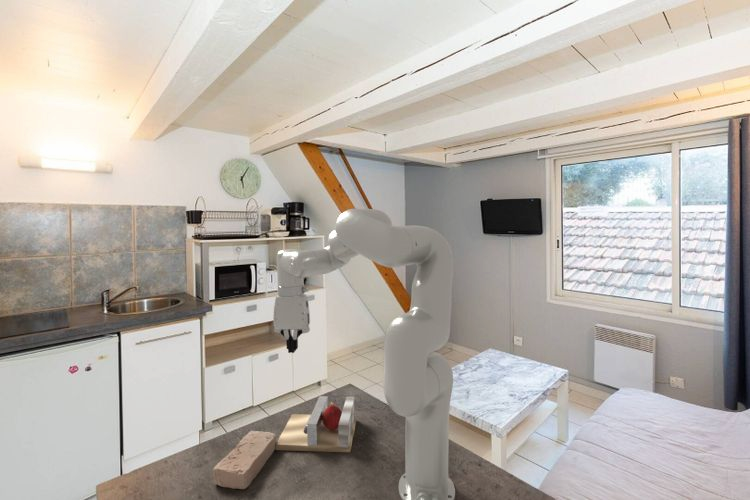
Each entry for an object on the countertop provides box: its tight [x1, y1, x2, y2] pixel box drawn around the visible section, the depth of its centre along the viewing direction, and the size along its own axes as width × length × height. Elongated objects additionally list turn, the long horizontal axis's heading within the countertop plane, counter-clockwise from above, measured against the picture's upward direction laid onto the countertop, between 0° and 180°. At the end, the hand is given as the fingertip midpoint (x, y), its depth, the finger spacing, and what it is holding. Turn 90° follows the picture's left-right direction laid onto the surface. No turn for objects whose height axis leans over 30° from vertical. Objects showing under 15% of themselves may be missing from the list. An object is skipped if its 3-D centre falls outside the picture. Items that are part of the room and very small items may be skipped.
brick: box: [212, 430, 277, 490], centre depth 88 cm, size 17×8×5 cm, turn 169°
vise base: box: [275, 396, 357, 453], centre depth 101 cm, size 15×20×8 cm
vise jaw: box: [304, 395, 329, 446], centre depth 101 cm, size 15×4×6 cm, turn 177°
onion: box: [322, 402, 342, 431], centre depth 100 cm, size 6×6×8 cm
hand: (292, 351), depth 106 cm, fingers closed
